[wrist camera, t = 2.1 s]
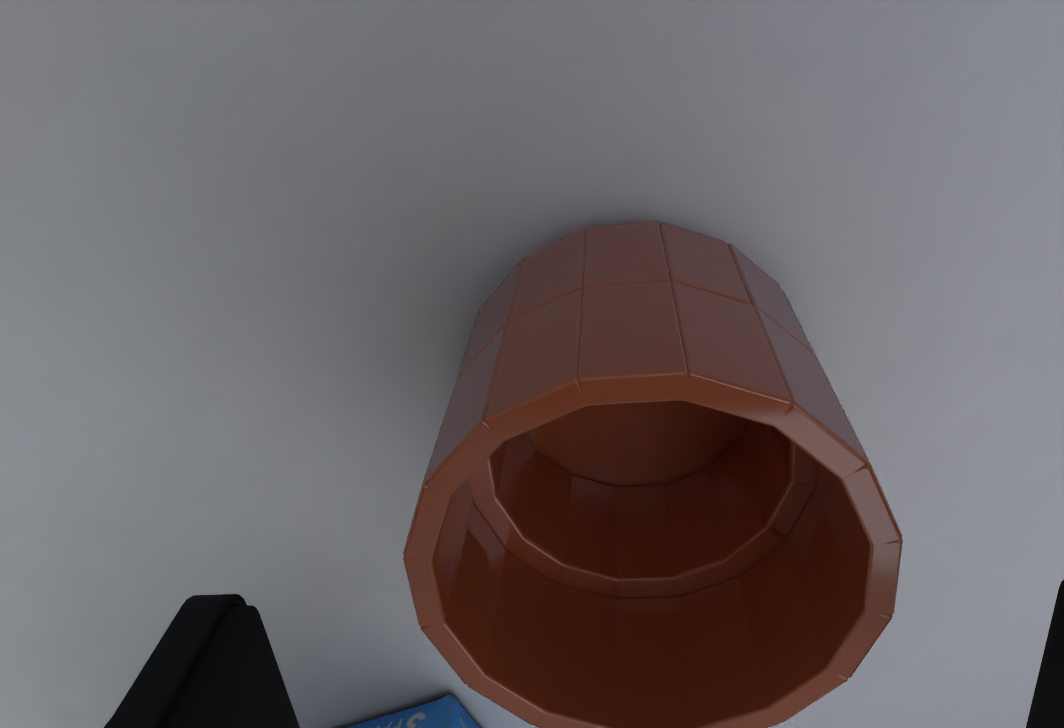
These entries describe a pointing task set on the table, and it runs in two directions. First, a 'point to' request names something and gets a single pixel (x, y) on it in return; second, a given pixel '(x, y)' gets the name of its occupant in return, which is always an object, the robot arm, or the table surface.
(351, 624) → the table surface
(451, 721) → the ink box
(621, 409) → the flower pot
